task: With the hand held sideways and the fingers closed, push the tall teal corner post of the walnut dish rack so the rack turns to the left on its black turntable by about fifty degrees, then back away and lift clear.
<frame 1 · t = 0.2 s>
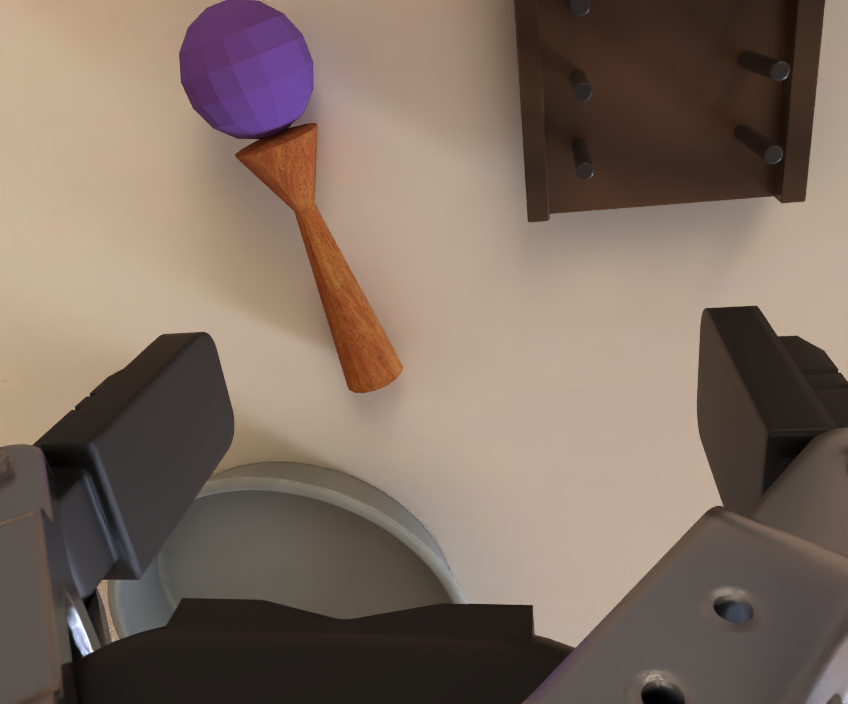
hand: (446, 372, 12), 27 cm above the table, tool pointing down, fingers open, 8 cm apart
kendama: (320, 199, 40), on the table
cake pan: (307, 585, 52), on the table
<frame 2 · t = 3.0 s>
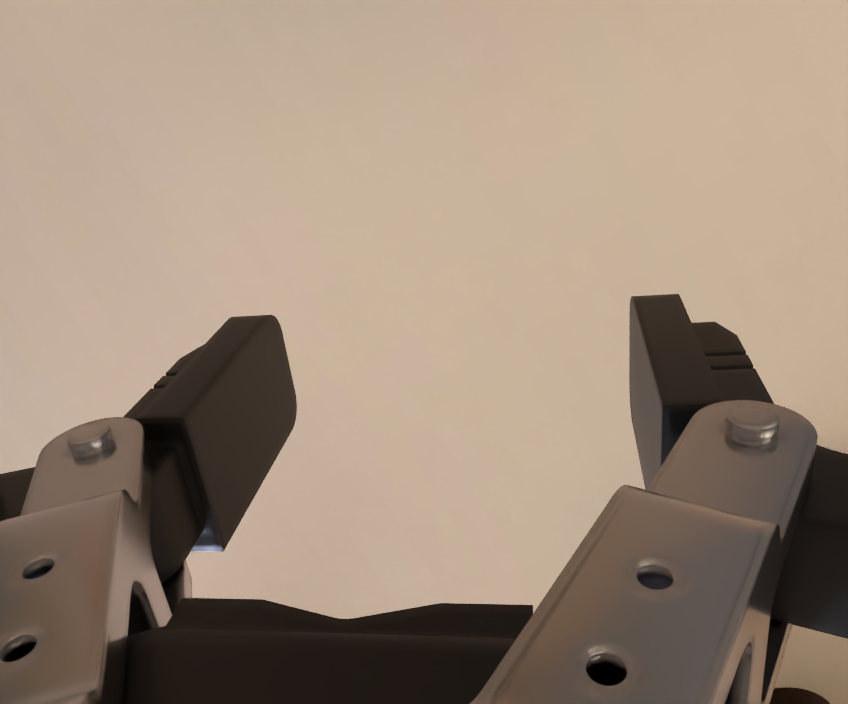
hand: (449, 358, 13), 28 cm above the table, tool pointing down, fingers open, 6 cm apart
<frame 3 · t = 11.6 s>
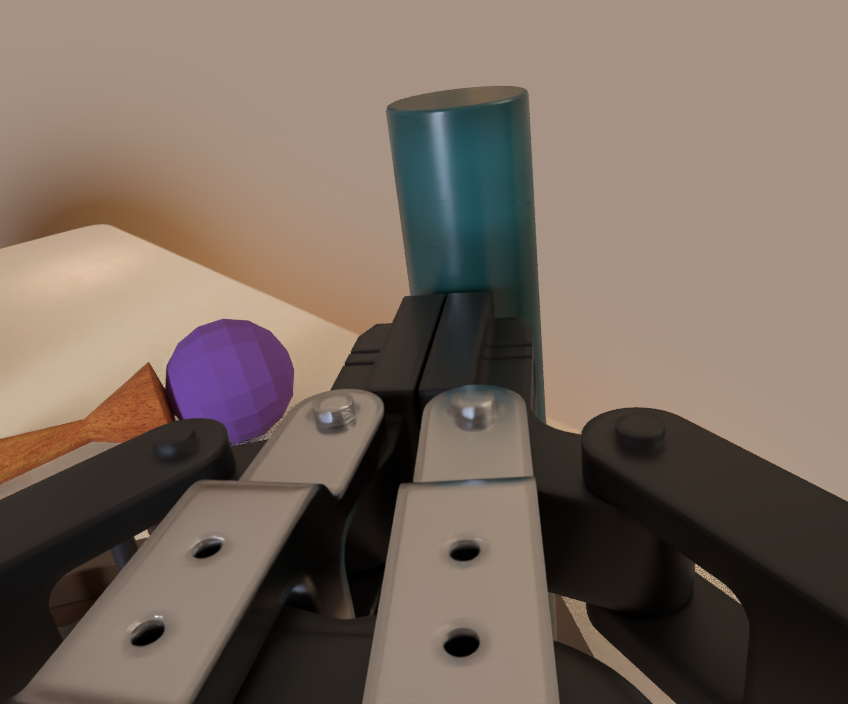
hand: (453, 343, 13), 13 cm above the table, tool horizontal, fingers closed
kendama: (98, 479, 35), on the table
dish rack: (186, 483, 17), point 9 cm above the table, hinge at 0.8°, touching gripper
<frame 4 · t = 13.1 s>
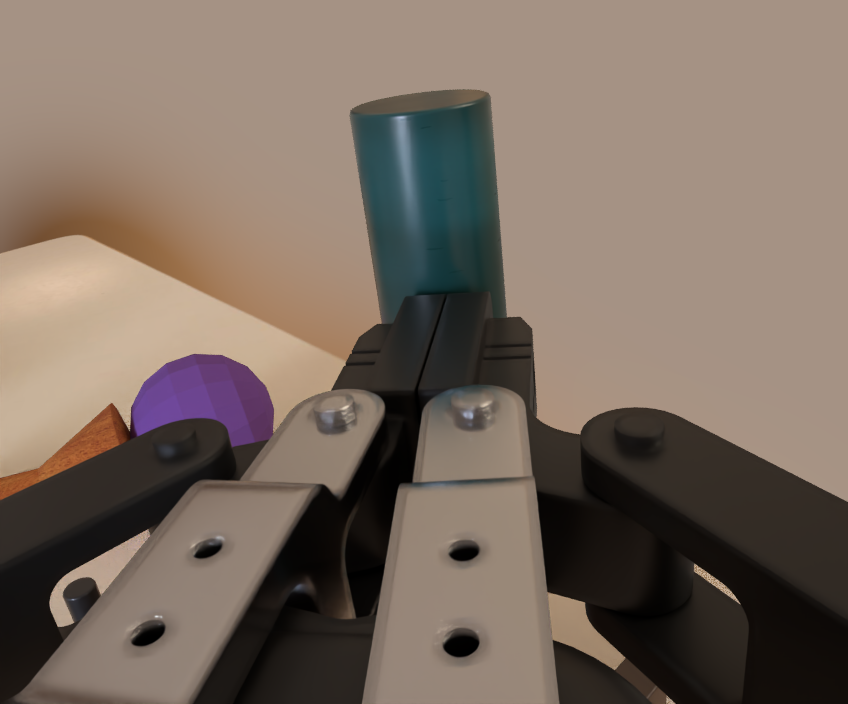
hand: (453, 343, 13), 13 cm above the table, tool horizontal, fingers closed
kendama: (56, 533, 32), on the table
dish rack: (124, 606, 14), point 9 cm above the table, hinge at 32.8°, touching gripper
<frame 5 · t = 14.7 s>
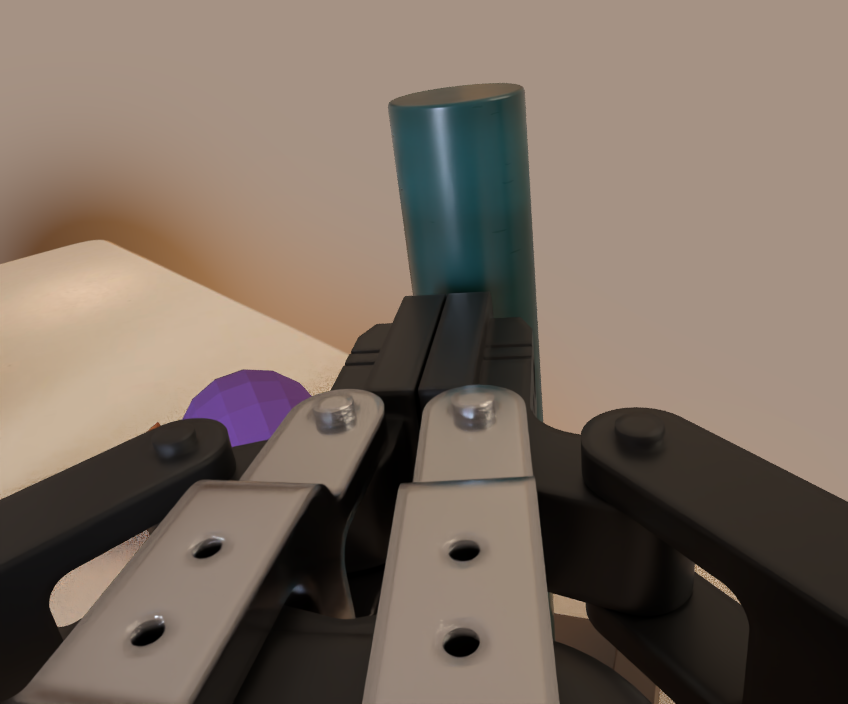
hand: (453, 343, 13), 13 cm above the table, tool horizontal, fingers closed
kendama: (98, 560, 30), on the table
dish rack: (234, 685, 12), point 9 cm above the table, hinge at 58.5°
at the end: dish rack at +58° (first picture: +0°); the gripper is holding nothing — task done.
